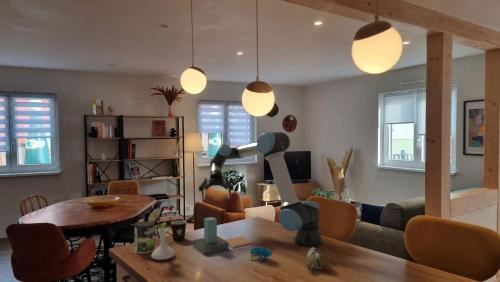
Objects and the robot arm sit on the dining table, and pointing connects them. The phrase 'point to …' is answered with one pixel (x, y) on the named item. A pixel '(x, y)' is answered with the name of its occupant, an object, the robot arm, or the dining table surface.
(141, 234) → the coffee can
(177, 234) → the coffee mug
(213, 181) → the robot arm
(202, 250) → the socket block
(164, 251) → the flower in vase
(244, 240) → the mat
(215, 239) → the peg
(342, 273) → the dining table surface
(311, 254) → the ceramic sculpture
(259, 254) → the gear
